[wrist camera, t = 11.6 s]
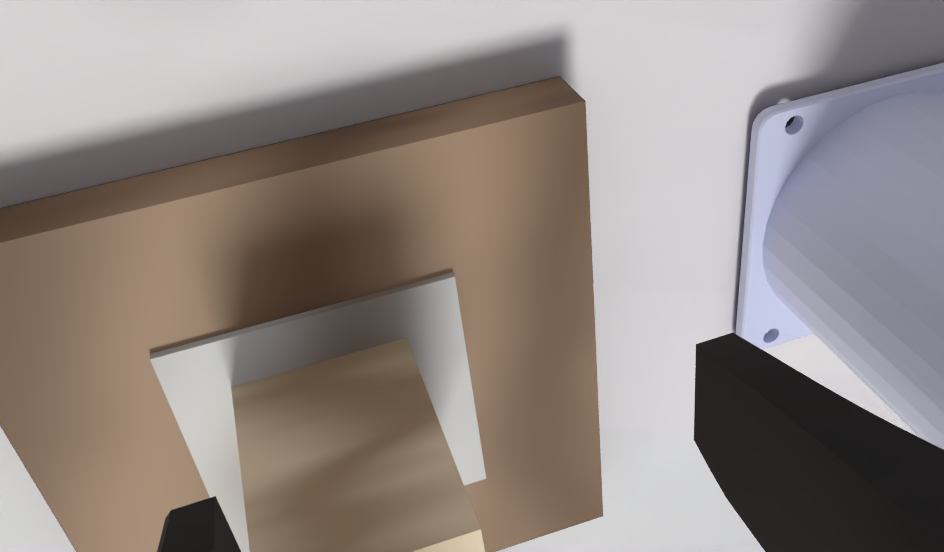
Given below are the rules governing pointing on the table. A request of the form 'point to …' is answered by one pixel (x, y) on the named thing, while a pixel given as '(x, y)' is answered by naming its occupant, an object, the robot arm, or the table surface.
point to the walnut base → (312, 312)
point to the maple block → (350, 460)
